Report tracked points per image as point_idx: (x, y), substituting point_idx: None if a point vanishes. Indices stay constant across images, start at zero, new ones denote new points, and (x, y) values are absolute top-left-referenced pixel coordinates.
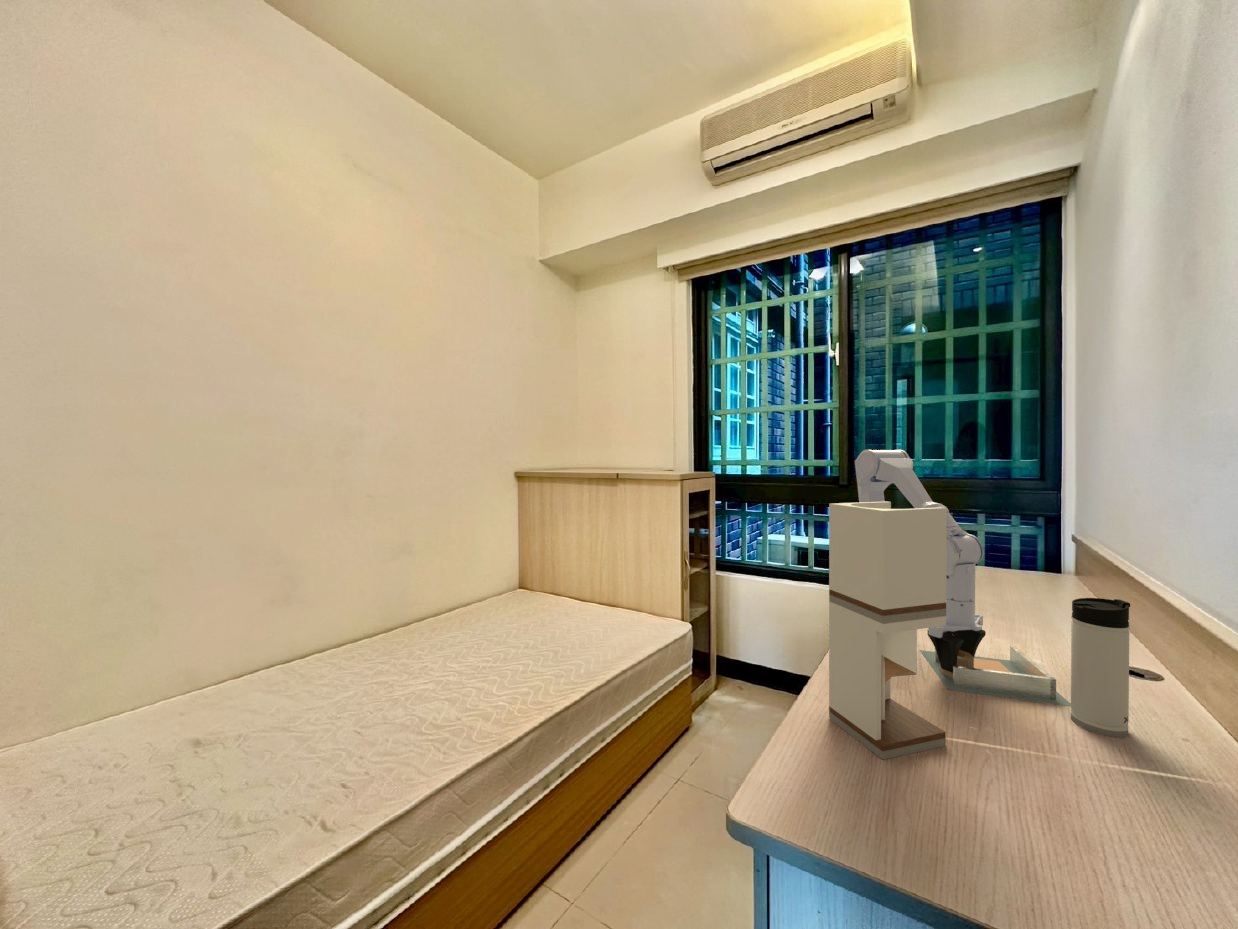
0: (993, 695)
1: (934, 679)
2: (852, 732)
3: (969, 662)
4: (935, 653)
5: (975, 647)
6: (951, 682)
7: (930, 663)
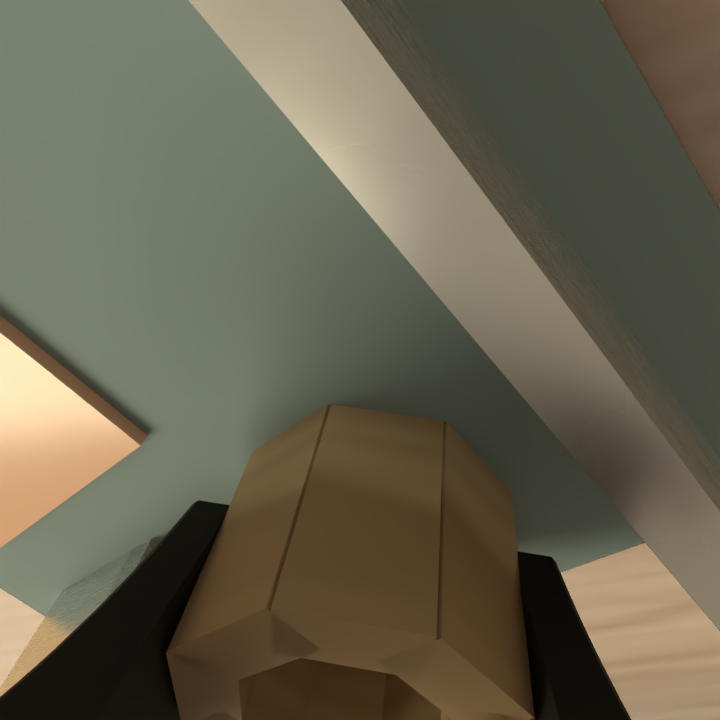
0: (662, 127)
1: (624, 567)
2: None
3: (392, 579)
4: None
5: (60, 714)
6: None
7: None
